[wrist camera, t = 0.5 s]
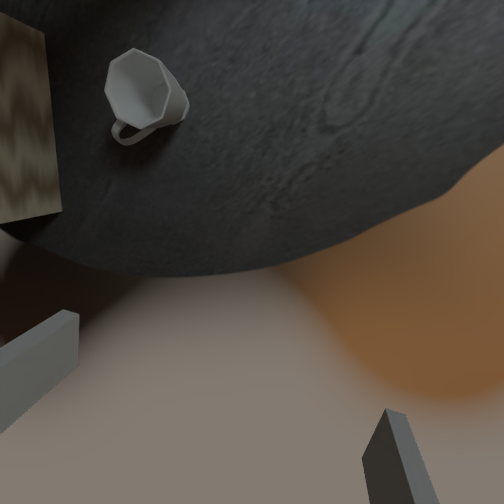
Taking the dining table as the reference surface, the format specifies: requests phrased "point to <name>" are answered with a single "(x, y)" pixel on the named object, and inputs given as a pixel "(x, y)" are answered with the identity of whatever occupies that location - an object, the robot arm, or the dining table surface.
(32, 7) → the dining table surface
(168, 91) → the cup
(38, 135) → the alcove
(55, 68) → the dining table surface
